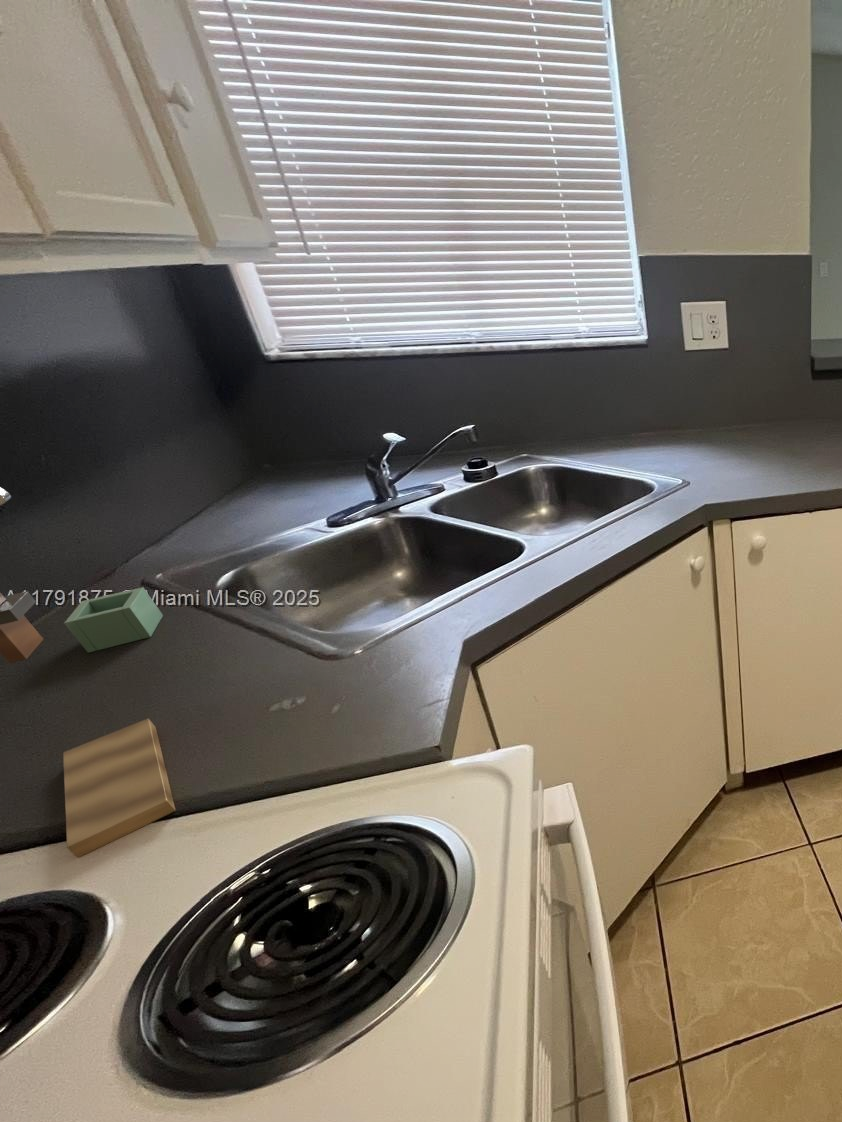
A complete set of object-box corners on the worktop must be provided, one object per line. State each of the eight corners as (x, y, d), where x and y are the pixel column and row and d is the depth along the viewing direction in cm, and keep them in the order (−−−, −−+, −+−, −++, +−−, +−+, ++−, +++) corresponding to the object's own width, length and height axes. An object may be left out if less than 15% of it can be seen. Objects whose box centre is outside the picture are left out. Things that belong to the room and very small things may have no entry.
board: (72, 762, 68) (62, 752, 67) (156, 727, 72) (148, 718, 71) (77, 858, 57) (66, 847, 56) (176, 811, 61) (167, 800, 60)
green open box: (87, 653, 86) (63, 623, 84) (103, 630, 91) (81, 600, 89) (151, 637, 89) (129, 607, 86) (163, 615, 94) (143, 586, 92)
